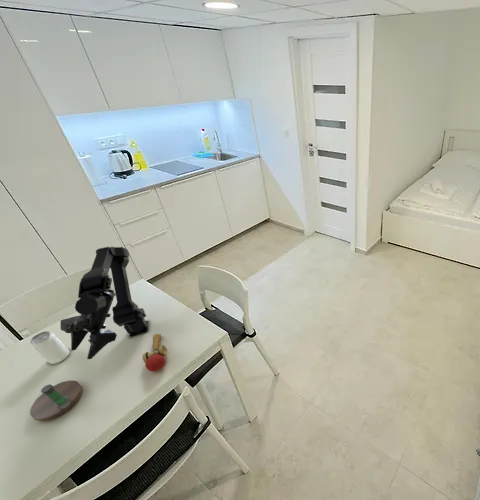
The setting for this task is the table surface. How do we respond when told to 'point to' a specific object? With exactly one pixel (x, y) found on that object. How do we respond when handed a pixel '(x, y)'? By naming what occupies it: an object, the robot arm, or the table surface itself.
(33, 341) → the can
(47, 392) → the disc
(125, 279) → the robot arm
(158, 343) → the kendama
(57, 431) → the table surface
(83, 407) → the table surface
